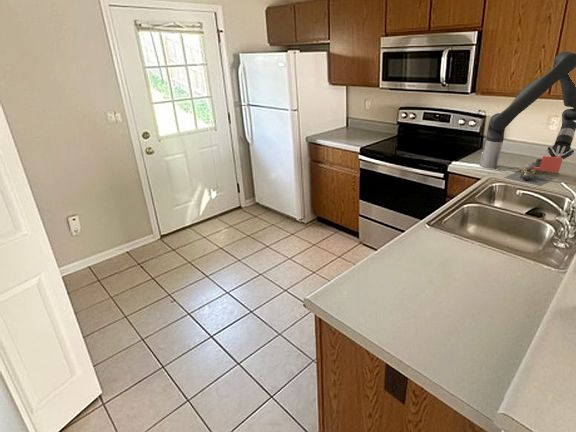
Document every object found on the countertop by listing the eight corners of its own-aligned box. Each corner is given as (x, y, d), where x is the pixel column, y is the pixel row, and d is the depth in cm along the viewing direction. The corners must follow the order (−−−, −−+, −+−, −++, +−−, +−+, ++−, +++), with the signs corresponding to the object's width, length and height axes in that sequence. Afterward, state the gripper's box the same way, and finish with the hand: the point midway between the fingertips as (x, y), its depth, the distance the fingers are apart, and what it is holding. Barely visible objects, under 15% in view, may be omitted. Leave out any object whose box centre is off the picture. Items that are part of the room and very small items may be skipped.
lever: (524, 169, 208) (528, 155, 205) (524, 167, 211) (528, 153, 208) (558, 173, 200) (562, 158, 197) (558, 171, 203) (562, 157, 200)
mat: (503, 179, 211) (503, 177, 210) (518, 172, 223) (519, 171, 222) (540, 187, 197) (540, 186, 197) (554, 179, 209) (555, 178, 209)
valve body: (519, 180, 206) (521, 171, 204) (520, 173, 218) (522, 165, 216) (532, 182, 203) (535, 173, 201) (532, 174, 215) (535, 166, 213)
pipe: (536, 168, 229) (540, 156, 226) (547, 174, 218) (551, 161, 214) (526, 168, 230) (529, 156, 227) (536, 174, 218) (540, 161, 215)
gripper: (551, 132, 208) (542, 158, 205) (580, 135, 200) (571, 162, 197) (550, 140, 214) (541, 165, 210) (578, 143, 206) (569, 169, 203)
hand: (555, 163), depth 204 cm, fingers closed
